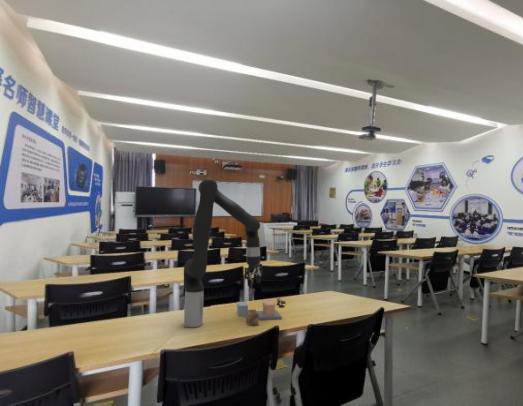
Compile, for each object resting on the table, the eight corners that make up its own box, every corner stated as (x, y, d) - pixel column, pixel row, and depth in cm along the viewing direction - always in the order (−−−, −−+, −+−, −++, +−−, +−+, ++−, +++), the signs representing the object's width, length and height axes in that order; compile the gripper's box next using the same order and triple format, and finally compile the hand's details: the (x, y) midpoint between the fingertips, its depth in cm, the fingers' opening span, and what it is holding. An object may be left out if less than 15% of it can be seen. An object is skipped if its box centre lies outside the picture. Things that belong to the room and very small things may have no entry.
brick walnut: (248, 326, 168) (248, 314, 168) (246, 321, 176) (246, 309, 176) (258, 325, 169) (258, 313, 169) (255, 320, 177) (255, 309, 177)
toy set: (272, 309, 200) (272, 301, 200) (266, 304, 211) (266, 296, 211) (290, 308, 203) (290, 300, 203) (284, 303, 214) (284, 295, 214)
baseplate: (260, 320, 177) (260, 306, 178) (256, 313, 189) (256, 300, 189) (281, 319, 180) (282, 305, 180) (276, 312, 191) (276, 299, 192)
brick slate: (238, 316, 183) (238, 305, 183) (236, 312, 191) (237, 302, 191) (247, 316, 184) (247, 305, 184) (245, 312, 192) (245, 301, 192)
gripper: (254, 252, 189) (255, 281, 189) (240, 256, 177) (240, 286, 177) (266, 253, 185) (266, 282, 184) (251, 257, 173) (252, 288, 173)
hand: (254, 284), depth 181 cm, fingers open, 8 cm apart
